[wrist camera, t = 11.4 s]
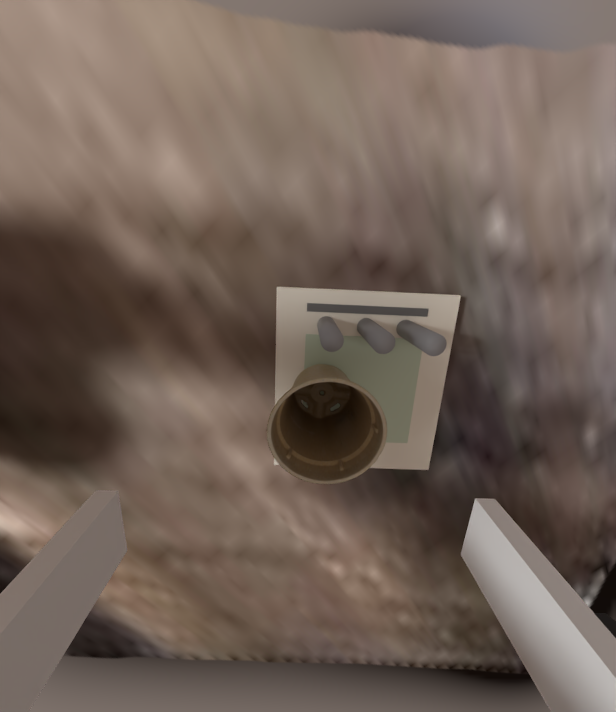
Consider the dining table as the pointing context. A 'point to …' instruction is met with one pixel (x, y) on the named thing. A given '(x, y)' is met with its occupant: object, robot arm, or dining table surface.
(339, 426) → the flower pot
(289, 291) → the board
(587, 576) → the dining table surface
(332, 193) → the dining table surface
